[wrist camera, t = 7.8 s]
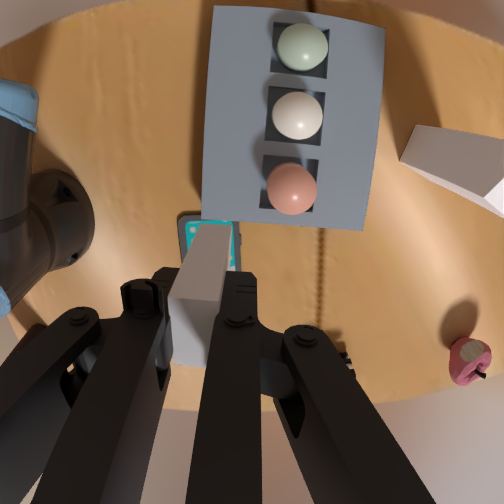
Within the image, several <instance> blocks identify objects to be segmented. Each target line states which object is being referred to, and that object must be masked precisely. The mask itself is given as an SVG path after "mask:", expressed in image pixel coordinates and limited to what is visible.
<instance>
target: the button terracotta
mask: <svg viewBox="0 0 504 504" xmlns="http://www.w3.org/2000/svg"><path fill="white" fill-rule="evenodd" d="M266 186H267V192H268V197H269V200H270V202H271V204H272V205H273V207H274V208H275V209H277V210H278V211H279V212H281V213H284V214H288V215H297V214H300V213H303V212H305V211H306V210H308V209H309V208H310V207H311V206H312V204H313V203H314V201H315V199H316V195H317V186H316V182H315V180H314V178H313V177H312V175H311V174H310V173H309V172H308V171H307V170H306V169H305V168H304V167H303V166H301V165H300V164H298V163H295V162H282V163H279V164H277V165H276V166H274V167H273V168H272V169H271V171H270V172H269V174H268V176H267V180H266Z"/></svg>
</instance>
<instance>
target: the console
mask: <svg viewBox="0 0 504 504" xmlns="http://www.w3.org/2000/svg"><path fill="white" fill-rule="evenodd" d="M298 23H305V24H309V25H312V26H314V27H316V28H318V29H319V30H320V31H321V32H322V33H323V34H324V36H325V37H326V39H327V42H328V52H327V55H326V57H325V58H324V60H323V61H322V62H320V63H319V64H318V65H317V66H315V67H314V68H313V69H311V70H309V71H306V72H294V71H291V70H289V69H287V68H286V67H284V66H283V65H282V64H281V63H280V61H279V60H278V57H277V54H276V48H277V44H278V41H279V38H280V36H281V34H282V32H283V31H284V30H285V29H286V28H287V27H289V26H291V25H293V24H298ZM384 53H385V28H382V27H378V26H375V25H371V24H367V23H362V22H358V21H354V20H349V19H344V18H339V17H334V16H329V15H323V14H317V13H310V12H303V11H296V10H287V9H278V8H266V7H251V6H214V10H213V20H212V30H211V41H210V52H209V65H208V78H207V92H206V108H205V125H204V145H203V170H202V203H201V219H206V220H223V221H239V222H254V223H268V224H282V225H295V226H308V227H321V228H333V229H344V230H355V231H363V227H364V222H365V216H366V211H367V205H368V199H369V193H370V187H371V181H372V174H373V167H374V160H375V153H376V145H377V137H378V128H379V119H380V109H381V98H382V86H383V71H384ZM291 92H304V93H307V94H309V95H311V96H312V97H313V98H315V99H316V100H317V102H318V103H319V105H320V106H321V109H322V114H323V119H322V124H321V126H320V128H319V130H318V131H317V132H316V133H315V134H314V135H312V136H311V137H309V138H306V139H300V140H298V139H292V138H289V137H287V136H285V135H283V134H282V133H280V132H279V131H278V130H277V129H276V128H275V126H274V125H273V122H272V118H271V112H272V108H273V106H274V104H275V103H276V101H277V100H278V99H280V98H281V97H283V96H284V95H286V94H288V93H291ZM282 162H295V163H298V164H300V165H301V166H303V167H304V168H305V169H306V170H307V171H308V172H309V173H310V174H311V175H312V177H313V178H314V180H315V182H316V186H317V195H316V199H315V201H314V203H313V204H312V206H311V207H310V208H309V209H308V210H306V211H305V212H303V213H300V214H297V215H288V214H284V213H281V212H279V211H278V210H277V209H275V208H274V207H273V205H272V204H271V202H270V200H269V197H268V192H267V186H266V180H267V176H268V174H269V172H270V171H271V169H272V168H273V167H274V166H276V165H277V164H279V163H282Z"/></svg>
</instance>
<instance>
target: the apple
mask: <svg viewBox="0 0 504 504" xmlns="http://www.w3.org/2000/svg"><path fill="white" fill-rule="evenodd" d="M491 358H492V356H491V349H490V348H489V346H488V345H487V344H485V343H484V342H482V341H480V340H475V339H472V338H468V337H462V338H460V339H458V340H457V341H456V342H455V344H454V345H452V346H451V351H450V361H449V372H450V376H451V378H452V380H453V382H455V383H456V384H458V385H460V386H464V385H468V384H469V383H471V382H472V381H474V380H476V379H478V378H480V377H482V378H484V379H485V377H486V373H484V372H485V370H486V369H487V368H488V367H489V365H490V362H491Z"/></svg>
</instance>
